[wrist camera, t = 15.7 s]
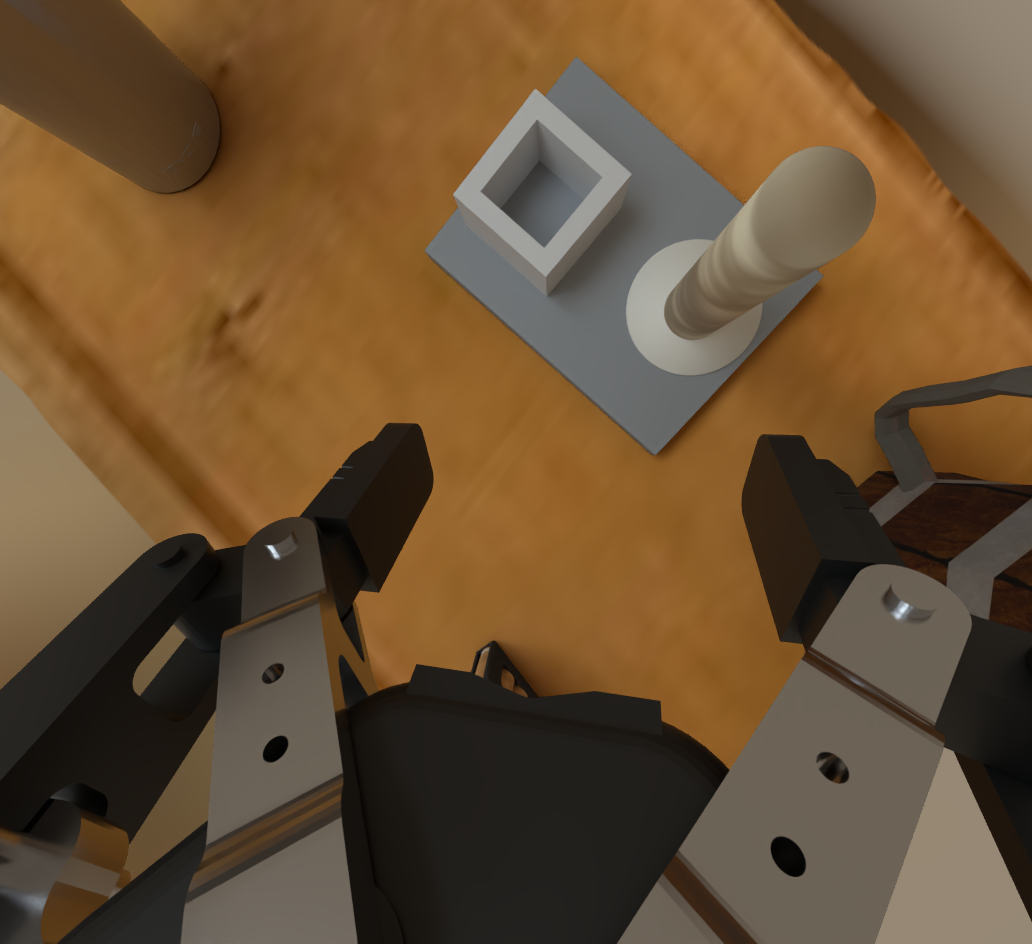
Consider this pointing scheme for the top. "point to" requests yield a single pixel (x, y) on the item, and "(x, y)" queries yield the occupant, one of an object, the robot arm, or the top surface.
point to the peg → (775, 239)
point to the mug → (956, 508)
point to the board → (601, 254)
